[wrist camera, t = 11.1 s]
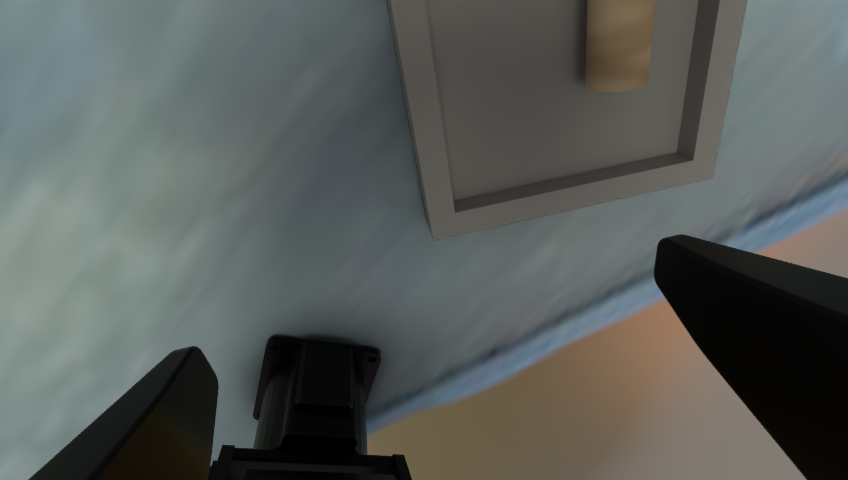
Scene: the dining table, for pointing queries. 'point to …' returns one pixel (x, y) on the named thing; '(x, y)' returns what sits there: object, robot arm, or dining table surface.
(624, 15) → the wooden dowel
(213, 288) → the dining table surface
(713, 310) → the robot arm
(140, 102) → the dining table surface
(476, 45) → the charcoal frame
